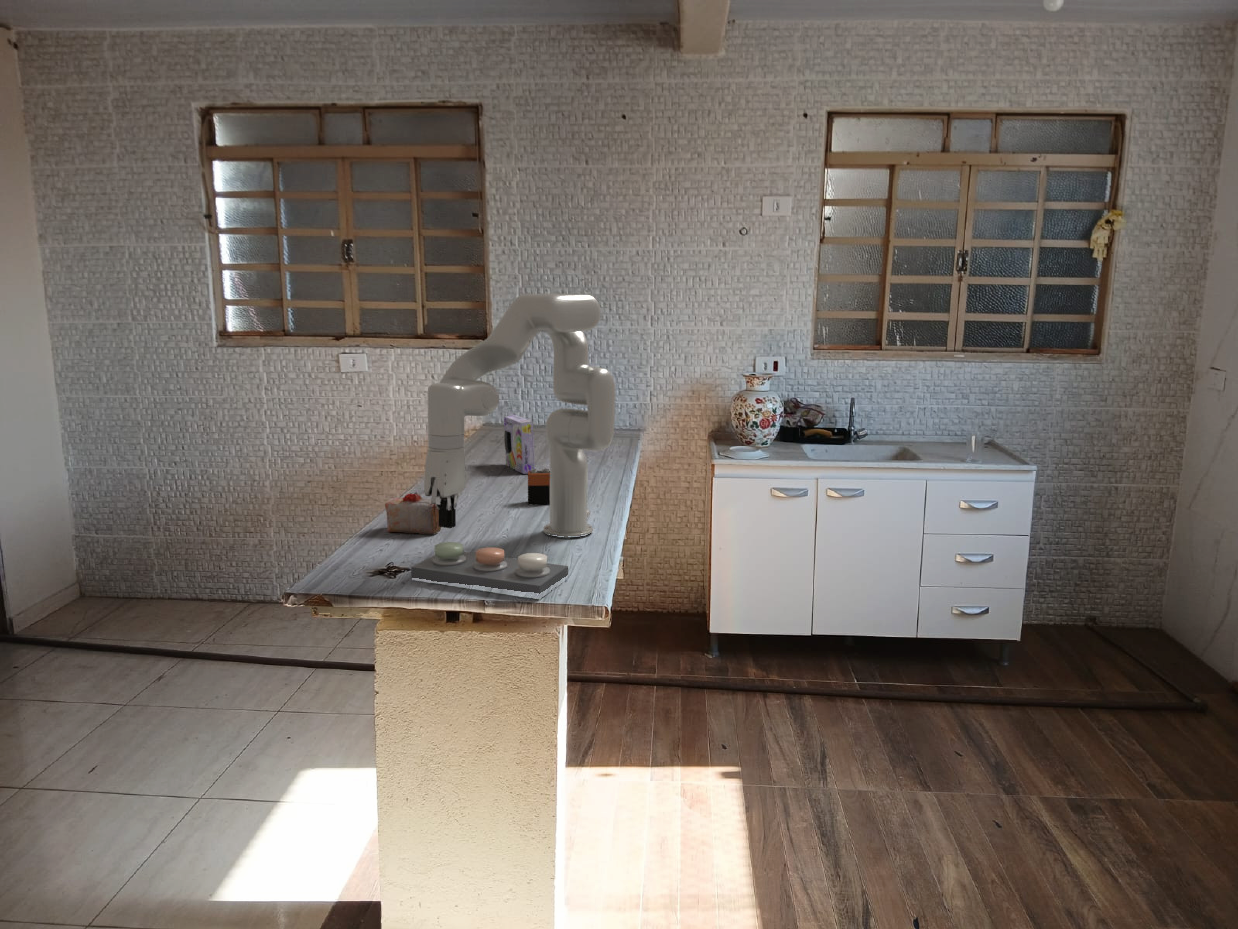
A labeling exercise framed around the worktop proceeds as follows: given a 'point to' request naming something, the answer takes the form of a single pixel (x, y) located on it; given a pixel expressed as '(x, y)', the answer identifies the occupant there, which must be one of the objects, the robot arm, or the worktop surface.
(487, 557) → the button terracotta
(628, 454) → the worktop surface
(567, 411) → the robot arm
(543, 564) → the button white
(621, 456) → the worktop surface
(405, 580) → the worktop surface
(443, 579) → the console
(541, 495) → the battery
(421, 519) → the food item
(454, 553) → the button green
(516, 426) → the cake pan box
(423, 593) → the worktop surface
